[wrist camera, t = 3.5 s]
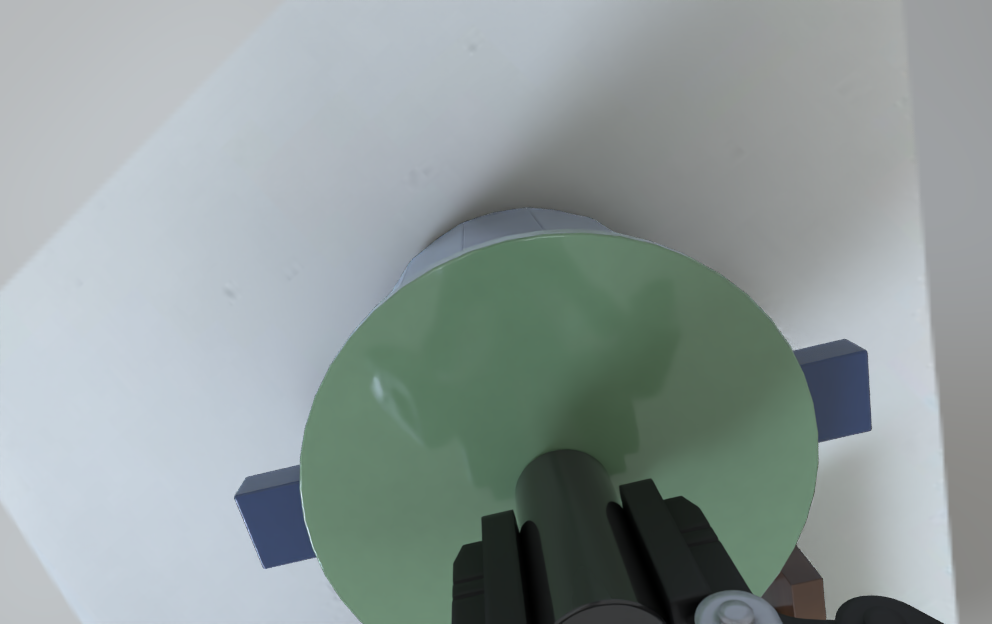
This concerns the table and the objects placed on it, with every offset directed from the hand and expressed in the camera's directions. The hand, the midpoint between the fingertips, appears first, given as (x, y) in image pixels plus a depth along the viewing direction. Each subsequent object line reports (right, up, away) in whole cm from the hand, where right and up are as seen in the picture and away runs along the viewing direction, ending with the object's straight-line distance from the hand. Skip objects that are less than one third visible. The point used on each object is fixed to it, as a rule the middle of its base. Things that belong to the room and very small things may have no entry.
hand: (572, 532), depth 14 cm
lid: (0, +1, +2) cm, 2 cm away
